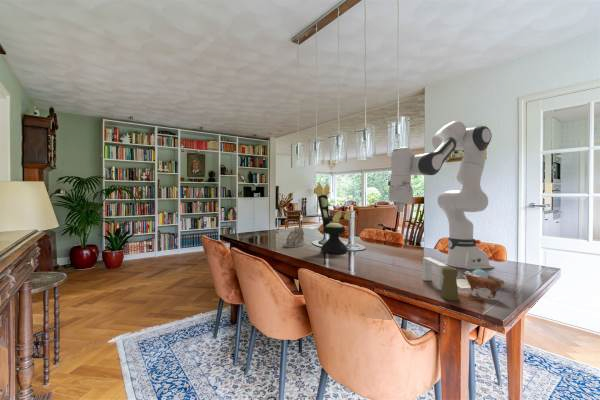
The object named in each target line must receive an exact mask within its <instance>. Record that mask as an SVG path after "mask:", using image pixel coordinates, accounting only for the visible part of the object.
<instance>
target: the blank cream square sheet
mask: <svg viewBox="0 0 600 400" xmlns="http://www.w3.org/2000/svg"><path fill="white" fill-rule="evenodd" d="M456 280H457V288H458V289H461V290H462V289H463V290H464V289H469V290H470V289H471V287H470V285H469V284H468V281H467V280H466V278H456Z"/></svg>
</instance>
